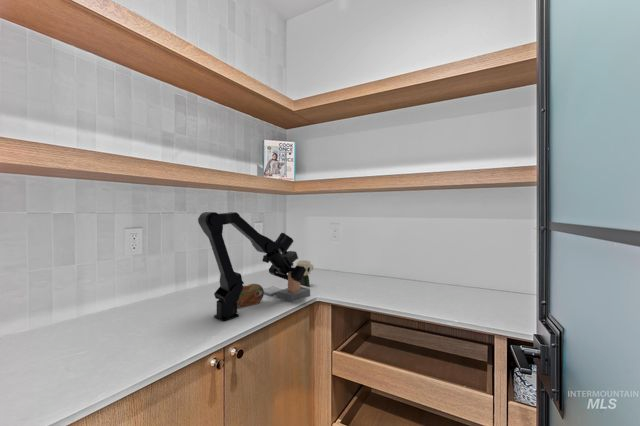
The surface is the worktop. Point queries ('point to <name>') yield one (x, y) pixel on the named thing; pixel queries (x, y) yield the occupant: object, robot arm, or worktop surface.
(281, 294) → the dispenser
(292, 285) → the tan rectangular block
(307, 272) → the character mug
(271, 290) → the mat
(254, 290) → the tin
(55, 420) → the worktop surface
